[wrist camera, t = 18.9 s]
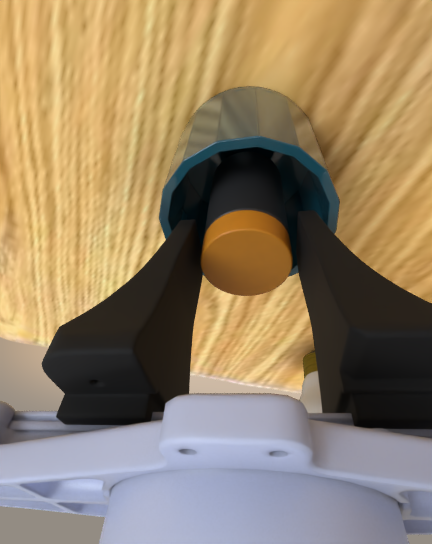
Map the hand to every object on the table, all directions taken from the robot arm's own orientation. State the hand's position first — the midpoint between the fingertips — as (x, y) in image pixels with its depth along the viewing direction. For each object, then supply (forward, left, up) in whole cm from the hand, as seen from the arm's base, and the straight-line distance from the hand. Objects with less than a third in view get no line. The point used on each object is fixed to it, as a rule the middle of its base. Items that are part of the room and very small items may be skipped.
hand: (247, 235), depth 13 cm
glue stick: (0, 0, -4) cm, 4 cm away
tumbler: (0, 0, -7) cm, 7 cm away
